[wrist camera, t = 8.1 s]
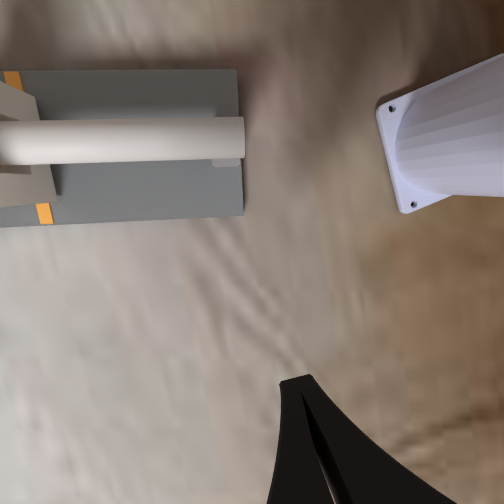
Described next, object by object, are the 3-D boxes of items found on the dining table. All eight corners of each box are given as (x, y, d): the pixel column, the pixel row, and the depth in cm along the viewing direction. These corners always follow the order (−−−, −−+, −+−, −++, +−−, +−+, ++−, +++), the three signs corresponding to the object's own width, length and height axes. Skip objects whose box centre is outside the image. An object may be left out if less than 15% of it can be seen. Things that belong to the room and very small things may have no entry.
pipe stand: (236, 75, 17) (240, 24, 12) (242, 214, 19) (248, 225, 14) (-101, 78, 15) (-277, 20, 10) (-51, 228, 18) (-173, 247, 12)
